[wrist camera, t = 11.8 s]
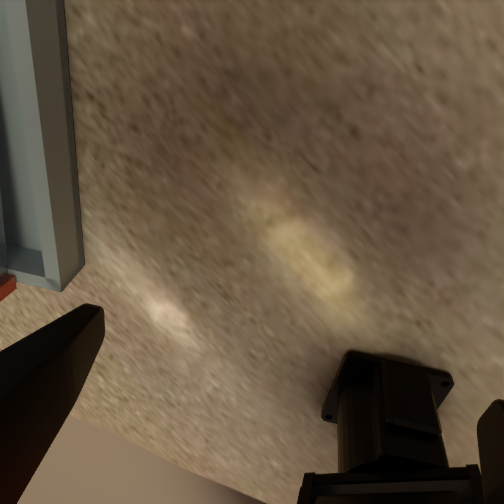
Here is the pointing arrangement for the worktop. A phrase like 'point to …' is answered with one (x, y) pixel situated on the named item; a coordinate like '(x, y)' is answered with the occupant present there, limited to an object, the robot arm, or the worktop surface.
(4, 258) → the red capped grey bar
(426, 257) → the worktop surface
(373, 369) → the robot arm
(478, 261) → the worktop surface
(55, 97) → the tray
